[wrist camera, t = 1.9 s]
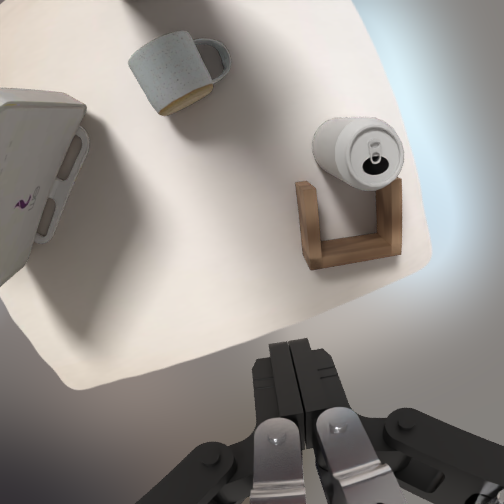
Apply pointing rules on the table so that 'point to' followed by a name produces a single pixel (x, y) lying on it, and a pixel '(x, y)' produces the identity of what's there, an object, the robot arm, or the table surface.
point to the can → (359, 151)
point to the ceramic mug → (175, 71)
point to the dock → (356, 246)
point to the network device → (34, 167)
